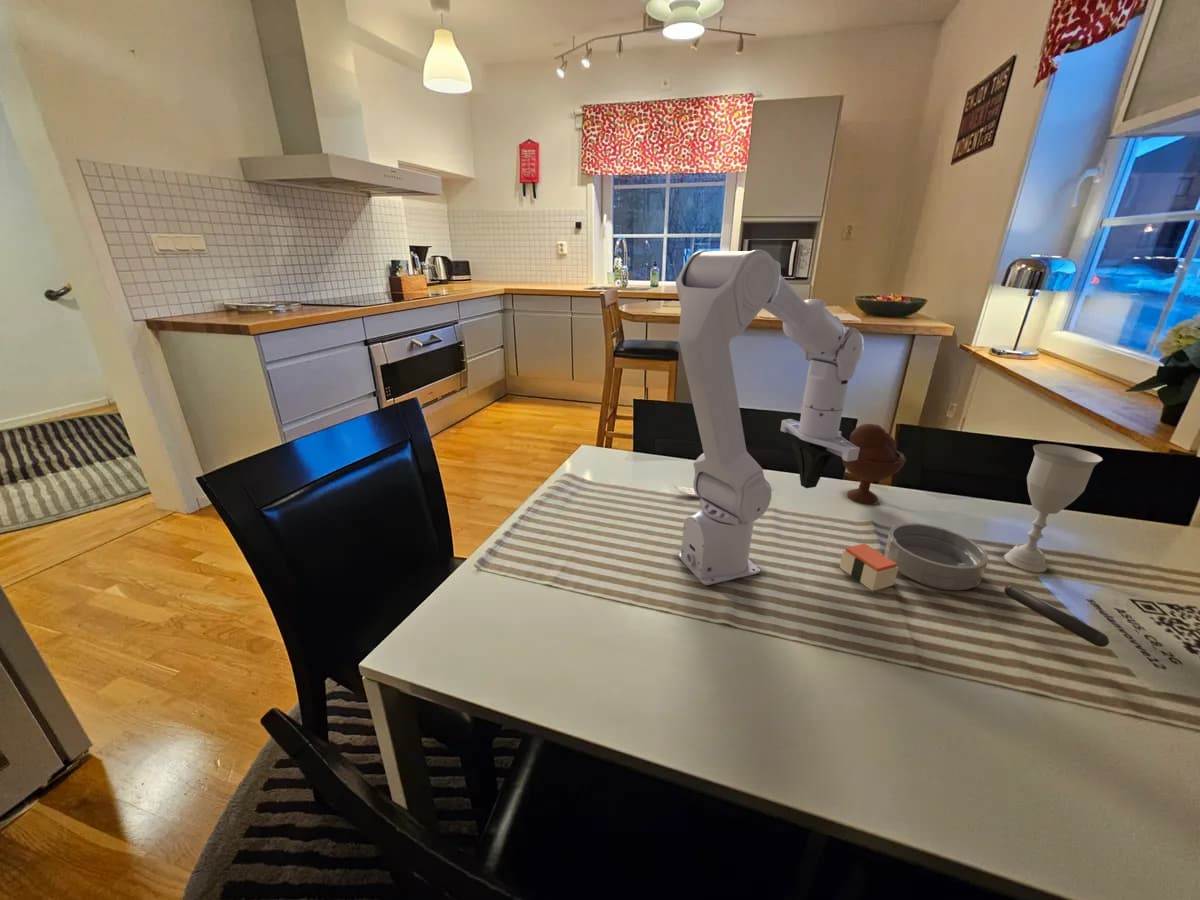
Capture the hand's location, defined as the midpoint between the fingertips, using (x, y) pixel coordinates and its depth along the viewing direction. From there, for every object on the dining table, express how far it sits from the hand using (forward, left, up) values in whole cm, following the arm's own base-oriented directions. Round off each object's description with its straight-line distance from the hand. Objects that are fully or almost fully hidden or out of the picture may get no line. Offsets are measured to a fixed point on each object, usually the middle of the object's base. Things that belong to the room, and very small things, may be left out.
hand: (808, 485), depth 80 cm
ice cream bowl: (+20, +6, -9) cm, 23 cm away
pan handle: (+11, -30, -6) cm, 33 cm away
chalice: (+26, -19, -9) cm, 33 cm away
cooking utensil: (-10, +19, -8) cm, 23 cm away
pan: (+11, -15, -8) cm, 20 cm away
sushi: (0, -14, -8) cm, 16 cm away
